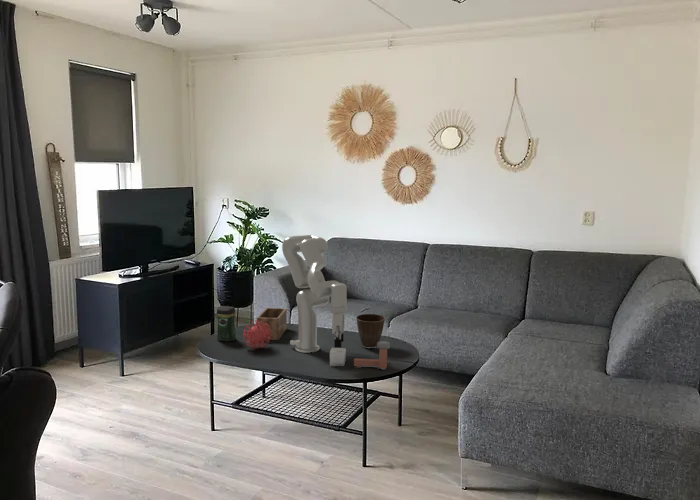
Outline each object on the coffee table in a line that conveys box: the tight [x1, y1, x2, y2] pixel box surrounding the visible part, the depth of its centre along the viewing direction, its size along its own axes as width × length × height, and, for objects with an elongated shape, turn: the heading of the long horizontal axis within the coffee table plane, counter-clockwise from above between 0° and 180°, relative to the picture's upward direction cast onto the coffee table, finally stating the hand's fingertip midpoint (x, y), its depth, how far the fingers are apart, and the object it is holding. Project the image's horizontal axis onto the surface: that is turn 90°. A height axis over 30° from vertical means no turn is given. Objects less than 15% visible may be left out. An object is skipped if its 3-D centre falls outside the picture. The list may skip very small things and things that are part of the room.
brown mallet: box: [353, 340, 391, 369], centre depth 269 cm, size 17×7×12 cm, turn 85°
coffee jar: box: [216, 305, 237, 342], centre depth 307 cm, size 10×8×19 cm
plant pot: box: [356, 313, 386, 347], centre depth 299 cm, size 15×15×16 cm
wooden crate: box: [256, 307, 288, 341], centre depth 319 cm, size 12×22×12 cm, turn 175°
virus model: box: [242, 319, 272, 350], centre depth 294 cm, size 15×15×15 cm
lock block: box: [329, 347, 347, 367], centre depth 273 cm, size 7×7×7 cm
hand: (339, 344), depth 271 cm, fingers open, 9 cm apart
